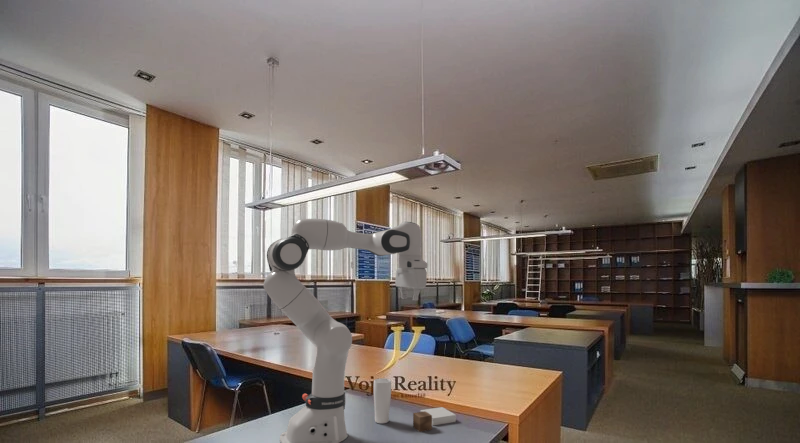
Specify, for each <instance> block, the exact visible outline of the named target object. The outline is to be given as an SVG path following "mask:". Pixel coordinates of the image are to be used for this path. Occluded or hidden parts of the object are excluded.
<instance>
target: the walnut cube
mask: <svg viewBox="0 0 800 443" xmlns="http://www.w3.org/2000/svg"><path fill="white" fill-rule="evenodd" d="M412 416H413V418H412V419H413V422H412V424H413V425H412V427H413V428H414V429H415V430H416V431H418V433H421V432H425V431H432V430H433V428H432V427H433V425H432V415H430V414H429V413H427V412H426V411H424V412H420V411H418V412H413V414H412Z"/></svg>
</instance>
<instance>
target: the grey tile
mask: <svg viewBox="0 0 800 443" xmlns="http://www.w3.org/2000/svg"><path fill="white" fill-rule="evenodd" d="M424 411H426V412H427V413H429V414H430V415H432V426H437V425H444V424H450V423H456V421H457V414H455V413H454V412H452V411H450V410H448V409H447V408H445V407H442V406H441V407H433V408H426V409H420V410H419V412H424Z"/></svg>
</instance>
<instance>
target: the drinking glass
mask: <svg viewBox="0 0 800 443" xmlns="http://www.w3.org/2000/svg"><path fill="white" fill-rule="evenodd" d="M391 397H392V380H391V379H390V378H380V377H379V378H375V379H374V380H373V402H374V403H373V405H374V406H373V407H374V421H375V423H377V424H381V425H382V424H387V423H389V421H390V407H391V399H392V398H391Z"/></svg>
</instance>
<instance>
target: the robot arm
mask: <svg viewBox="0 0 800 443" xmlns="http://www.w3.org/2000/svg"><path fill="white" fill-rule="evenodd" d="M343 249H355V250H363V251H365V250H366V251H367V252H369V253H371V254H373V255H375V256H378V257H383V256H388V255H395V254H398V267H397V269H396V270H395V271H396V272H395V281H394V282H395V287H398V288H400V289H399V292H400V294H401V299H402V300H407V299H408V294H407V289H408V288H409V289H410V288H411V289H413V290H412V291H413V295H411V296H412V298H411V300H412V301H415V302H416V301H419V295H420V293H421V290H423V289H425V288H426V286H427V269H428V262H426V261H425V260H424V259H423V258H422V252H421V249H422V230H421V227H420V225H418V224H417V223H415V222H412V221H402V222H401V223H400V224H399V225H396V226H393V227H391V228H389V229H384V230H379V231H375V232H374V231H373V232H372V233H363V232H356V231H351V230H348V228H347V226H346V224H344V223H341V222H339V221H336V220H330V219H325V218H324V219H323V218H301V219H298V220H297V221H296V222H294V223H293V226H292V228H291V234H290V235H289V236H287V237H284V238H279V239H278V240H275V241H274V242H272V243H271V244H270V246H268V249H267V251H266V260H267V264H268V268H269V272H270V273H269V274H268V275H267V276H266V277H265V279H264V281H263V289H264V292H265V293H267V295H268V297H269V299H271V300H272V302H273V303H274V305H275V306H276V307H278V309H279V310H280V311H281V312H282V313H283V314H284V315H285V317H287V318H288V319H289V320H290V321H291V322H292V323H293V324H294V325H295V326H296V327H297V329H298V330H299V331H300V332H301V333H302V334H303V335H304V336H305V337H306V338H307V339H308V340H309V341H310V342H311V343H312V344H313V345H314V346H315V347H316V349H317V350H316V351H317V352H316V358H315V363H314V366H313V369H312V376H311V377H312V379H311V380H312V382H311V393H310V394H307V393H303V394H302V396H301V398H302V399H303V401H304V402H305V406H304V407H302V408H301V409H300V410H299V411H298V412H296V413H295V414H294V415H292V416H291V417H290V419H289V421H288V423H287V424H288V425H287V428H286V431H283V432H282V433H281V434H280V436H279V443H341V442H343V441H344V440H345V439H347V437H348V435H349V434H348V431H347V426H346V419H345V409H346V408H345V407H346V392H345V377H346V376H345V373H346V372H345V371H346V365H347V360H348V356H349V351H350V349H351V347H352V344H353V336H352V333H351V331H350V329H349V328H348V327H347V325H345V323H342V322H339V321H337V320H336V319H334V318H333V317H332V316H331V315H330V314H329V312H328V311H327V310H326V309H325V308H324V306H323V305H322V304H321V302H320V301H319V299H318V298H317V297H315V296H314V294H313V293H312V292H311V291H310V290H309V289H308V288H307V287H306V286H305V285H304V284H303V283H302V282H301V281H300V280H299V279H298V277H297V276H296V272H295V270H296V269H298V268H300V267H301V266H302V264H303V263H304V261H305V259H306V257H307V254H308V252H309V250H317V251H319V250H320V251H340V250H343Z"/></svg>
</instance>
